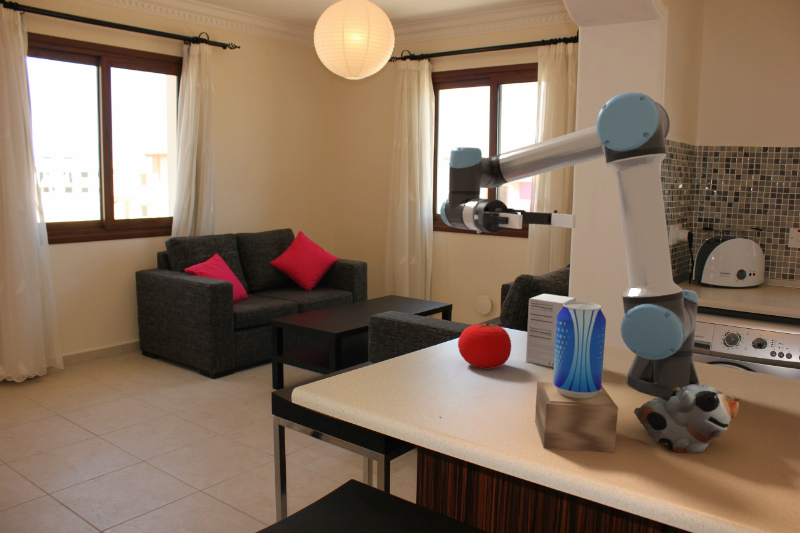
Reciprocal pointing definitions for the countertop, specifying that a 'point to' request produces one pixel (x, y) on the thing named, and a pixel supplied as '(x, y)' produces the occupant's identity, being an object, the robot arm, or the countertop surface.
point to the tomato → (485, 345)
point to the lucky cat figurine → (688, 417)
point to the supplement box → (543, 327)
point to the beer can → (579, 350)
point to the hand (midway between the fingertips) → (548, 221)
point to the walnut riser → (575, 420)
